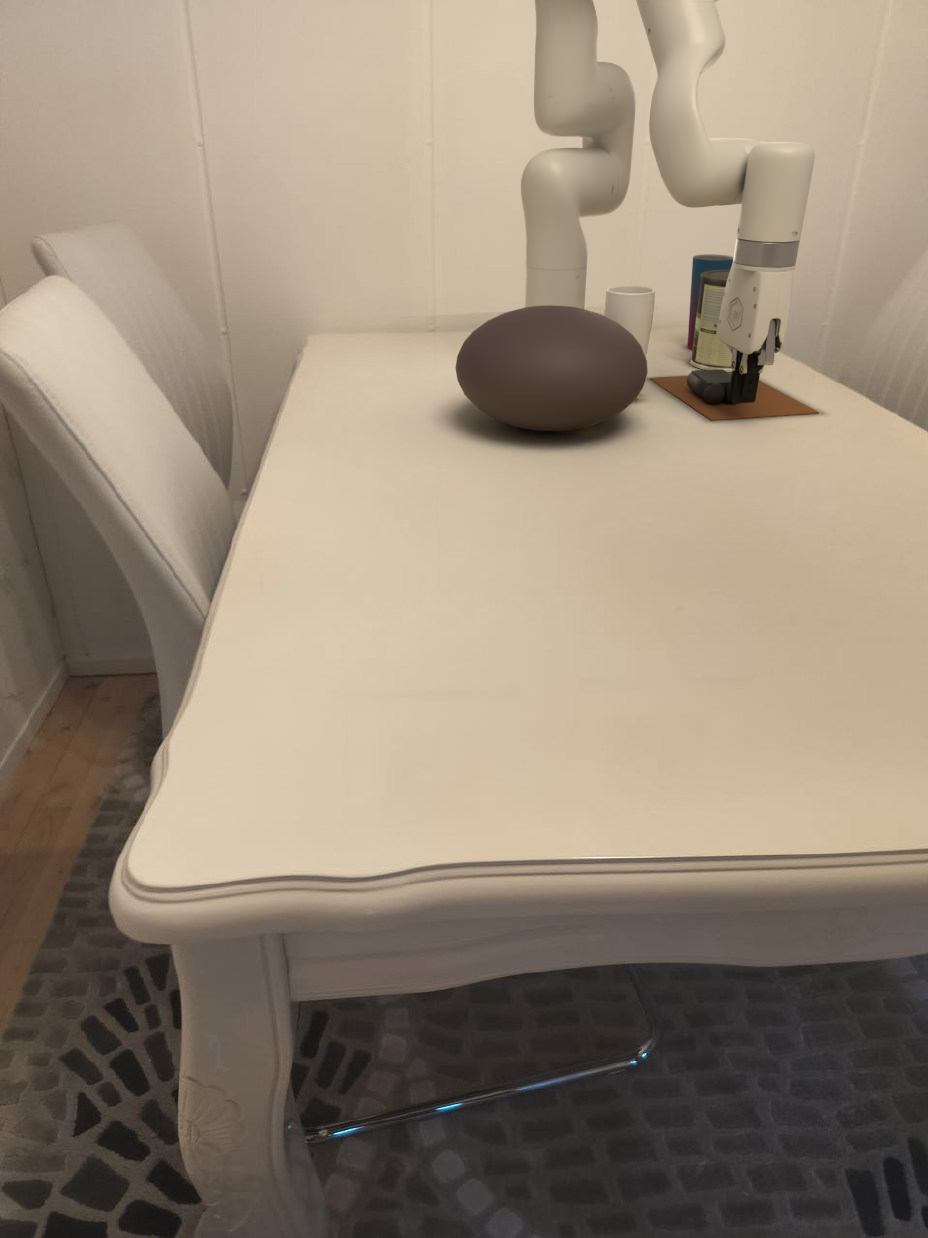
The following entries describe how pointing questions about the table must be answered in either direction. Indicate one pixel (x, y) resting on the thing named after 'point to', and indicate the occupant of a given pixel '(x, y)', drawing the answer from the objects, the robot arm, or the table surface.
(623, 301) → the drinking glass
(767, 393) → the mouse pad
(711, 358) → the coffee can
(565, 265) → the robot arm
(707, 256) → the cup
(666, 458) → the table surface
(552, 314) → the flattened ellipsoid
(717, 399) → the mouse
